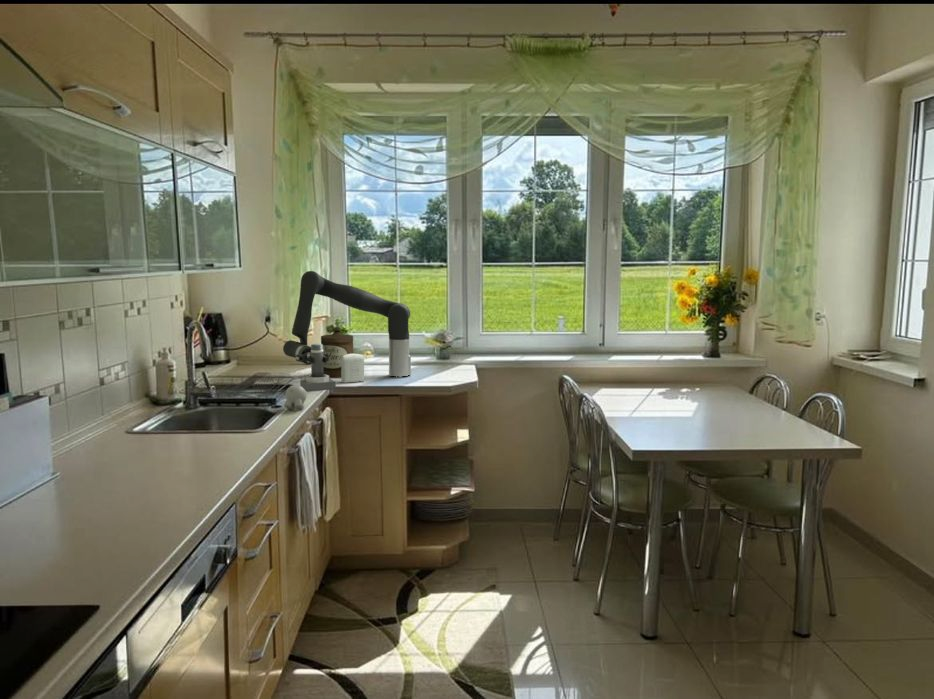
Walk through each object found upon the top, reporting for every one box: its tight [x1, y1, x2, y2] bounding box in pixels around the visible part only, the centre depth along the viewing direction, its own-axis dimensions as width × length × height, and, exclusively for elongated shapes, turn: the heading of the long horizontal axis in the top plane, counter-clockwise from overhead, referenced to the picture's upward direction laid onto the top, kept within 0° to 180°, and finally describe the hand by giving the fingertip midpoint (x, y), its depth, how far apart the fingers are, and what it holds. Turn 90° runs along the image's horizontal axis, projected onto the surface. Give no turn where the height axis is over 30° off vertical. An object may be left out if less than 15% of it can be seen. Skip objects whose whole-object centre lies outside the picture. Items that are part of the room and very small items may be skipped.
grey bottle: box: [310, 343, 323, 378], centre depth 262 cm, size 5×5×14 cm
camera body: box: [299, 374, 337, 392], centre depth 263 cm, size 12×9×5 cm
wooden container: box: [320, 326, 355, 379], centre depth 294 cm, size 15×15×22 cm
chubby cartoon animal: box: [283, 384, 307, 411], centre depth 227 cm, size 7×12×8 cm, turn 176°
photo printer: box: [340, 353, 365, 384], centre depth 278 cm, size 10×4×12 cm, turn 123°
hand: (319, 360), depth 260 cm, fingers closed on grey bottle, 4 cm apart
